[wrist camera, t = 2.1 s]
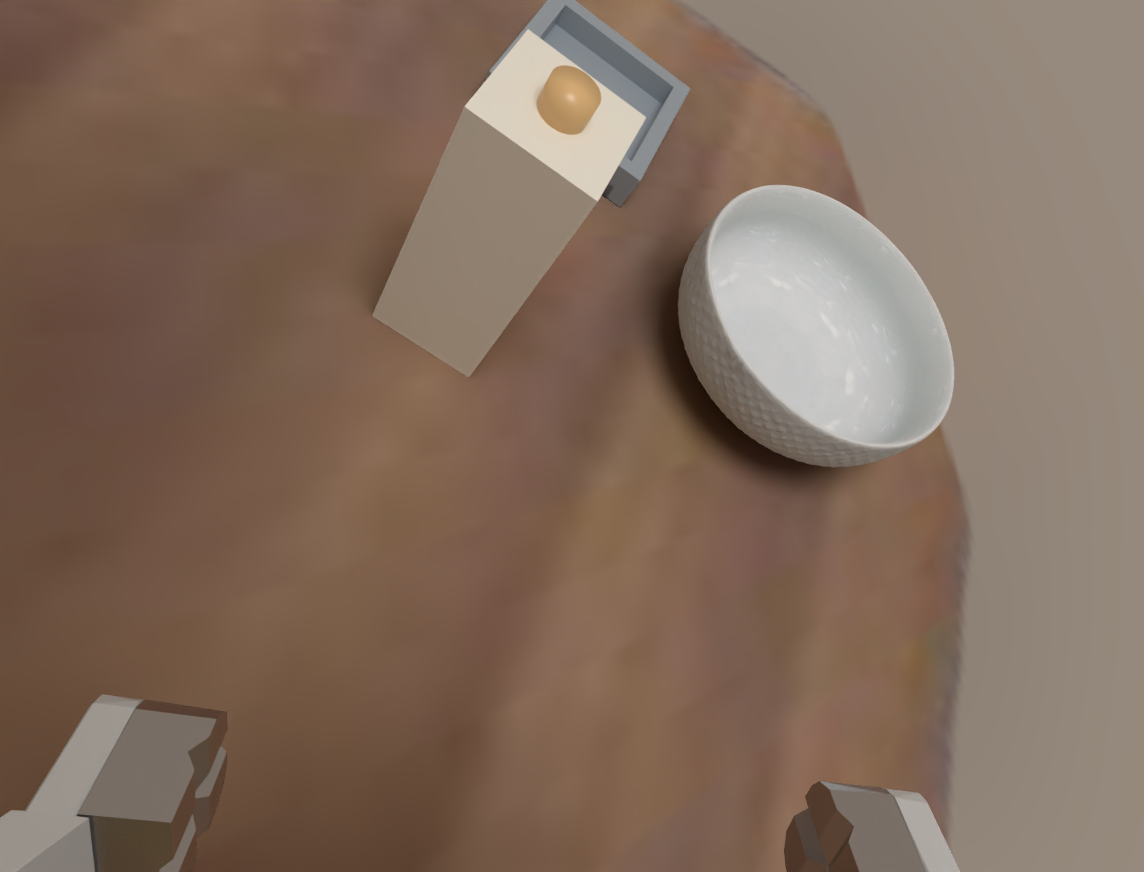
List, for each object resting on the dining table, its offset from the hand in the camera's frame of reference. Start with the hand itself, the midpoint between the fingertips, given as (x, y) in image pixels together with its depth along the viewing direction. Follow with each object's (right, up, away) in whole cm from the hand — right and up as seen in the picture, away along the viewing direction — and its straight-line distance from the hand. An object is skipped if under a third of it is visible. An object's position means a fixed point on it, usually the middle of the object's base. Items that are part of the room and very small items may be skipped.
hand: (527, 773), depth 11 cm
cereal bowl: (+12, +9, +38) cm, 41 cm away
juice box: (-6, +11, +29) cm, 32 cm away
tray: (+1, +25, +40) cm, 47 cm away
